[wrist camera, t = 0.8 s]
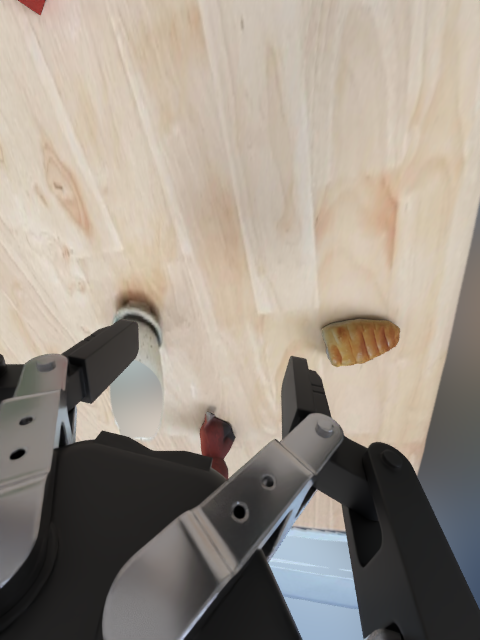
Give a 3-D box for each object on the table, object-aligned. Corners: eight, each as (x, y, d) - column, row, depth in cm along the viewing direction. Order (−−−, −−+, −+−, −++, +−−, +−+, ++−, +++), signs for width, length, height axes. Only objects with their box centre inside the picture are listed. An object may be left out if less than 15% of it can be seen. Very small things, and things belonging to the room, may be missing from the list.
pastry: (391, 305, 31) (404, 319, 27) (399, 346, 33) (411, 364, 30) (317, 324, 34) (320, 340, 30) (329, 361, 36) (333, 378, 33)
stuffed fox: (225, 403, 45) (206, 468, 35) (244, 441, 50) (233, 508, 39) (190, 407, 47) (163, 469, 37) (212, 443, 52) (193, 507, 42)
